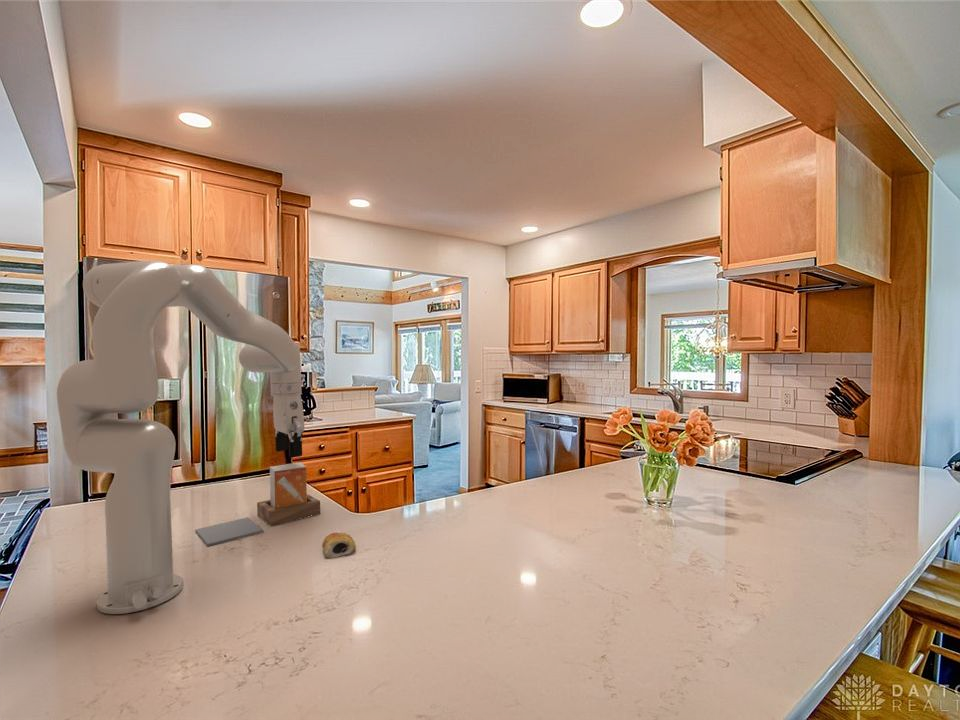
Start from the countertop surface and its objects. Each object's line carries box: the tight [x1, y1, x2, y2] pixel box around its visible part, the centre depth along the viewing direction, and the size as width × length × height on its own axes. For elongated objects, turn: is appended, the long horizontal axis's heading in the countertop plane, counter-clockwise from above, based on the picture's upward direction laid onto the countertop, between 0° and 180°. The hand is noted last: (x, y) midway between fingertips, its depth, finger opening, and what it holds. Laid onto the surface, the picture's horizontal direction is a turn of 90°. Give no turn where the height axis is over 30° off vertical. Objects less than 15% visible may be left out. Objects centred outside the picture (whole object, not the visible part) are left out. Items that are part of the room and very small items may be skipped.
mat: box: [194, 516, 264, 547], centre depth 115 cm, size 12×12×1 cm
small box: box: [269, 462, 308, 509], centre depth 127 cm, size 8×6×13 cm
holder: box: [256, 493, 321, 527], centre depth 127 cm, size 11×13×4 cm
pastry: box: [321, 532, 357, 559], centre depth 105 cm, size 9×7×4 cm
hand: (288, 453), depth 127 cm, fingers open, 9 cm apart
